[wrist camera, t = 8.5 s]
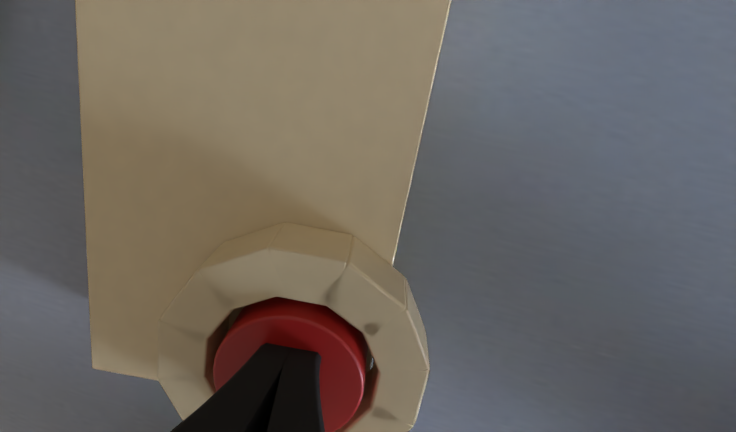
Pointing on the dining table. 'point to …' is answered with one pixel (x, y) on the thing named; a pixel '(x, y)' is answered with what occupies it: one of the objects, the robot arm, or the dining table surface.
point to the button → (302, 331)
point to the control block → (253, 179)
